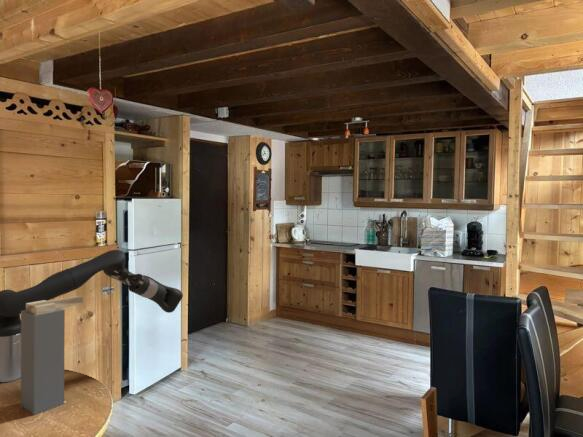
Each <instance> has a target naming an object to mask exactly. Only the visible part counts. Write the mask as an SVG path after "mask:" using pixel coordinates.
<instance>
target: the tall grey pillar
mask: <svg viewBox="0 0 583 437" xmlns="http://www.w3.org/2000/svg"><path fill="white" fill-rule="evenodd" d="M65 315H66V314H65V309H64V308H60V309H55V311H53V312H48V313H43V314H38V315H35V314H33V313H30V312H27V311H26V310H23V311H21V314H20V319H21V378H20V407H21V408H24V409H25V410H26V411H28V412H30V413H31V414H32V415H34V416H35V415H38V414H41V413H43V412H47V411H49V410H51V409H54V408H57V407H59V406H62V405H64V404H65V331H66V330H65V325H66V324H65V323H66V322H65V321H66V319H65V318H66V317H65Z"/></svg>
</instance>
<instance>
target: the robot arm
mask: <svg viewBox="0 0 583 437" xmlns="http://www.w3.org/2000/svg"><path fill="white" fill-rule="evenodd" d="M126 259H127V258H126V254H125V252H123V251H122V250H119V249H112V250H111V249H110V250H108V251H106V252H104V253H101V254H100V255H97V256H95V257H94V258H91V259H88V260H87V261H84V262H82V263H79V264H77V265H74V266H72V267H69V268H66V269H64V270H61V271H58V272H55V273H53V274H51V275H49V276H48V277H46V278H45V279H43V280H42V281H41V282H40V283H38V284H36V285H34V286H31V287H29V288H24V289H22V290H18V291H15V290H12V289H3V290H0V383H9V382H13V381H16V380H18V379H21V311H23V310H26V303H31V302H36V301H42V300H46V301H51V300H54V299H55V298H58V297H61V296H64V295H65V294H68V293H71V292H74V291H77V289H78V290H79V289H80V288H81V287H82V286H84V285H85V284H86V283H87V282H89V280H91V278H93V277H94V276H95V275H96V274H98V273H100V272H101V271H103V273H104V275H106V276H107V277H109V278H112V279H114V280H116V281H119V282H120V283H122V284H124V285H127V286H128V287H127V288H128V291H129V292H132V293H134V294H136V295H138V296H139V297H142V298H145V299H148V300H150V301H152V302H154V303H156V305H158V306H159V307H160V308H161V310H162V311H164V312H165V313H168V314H169V313H173V312H174V311H176V309H177V307H178V305H179V304H180V302H181V301H182V299H183V296H184V294H183V292H182V291H181V290H180V289H178V288H175V287H171V286H168V285H166V284H162V283H161V282H159V281H157V280H156V279H154V278H152V277H150V276H148V275H144V274H141V273H132V272H131V271H129V270H128V268H126Z"/></svg>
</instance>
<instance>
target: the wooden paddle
mask: <svg viewBox="0 0 583 437" xmlns="http://www.w3.org/2000/svg"><path fill="white" fill-rule="evenodd" d="M83 304H84V297H83V296H81V295H76V296H75V295H74V296H69V297H65V298H64V297H63V298H58V299H50V300H48V301H46V300H42V301H36V302H31V303H26V311H27V312H30V313H33V314H35V315H38V314H43V313H48V312H53V311H55V309H64V308H70V307H75V306H79V305H83Z"/></svg>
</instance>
